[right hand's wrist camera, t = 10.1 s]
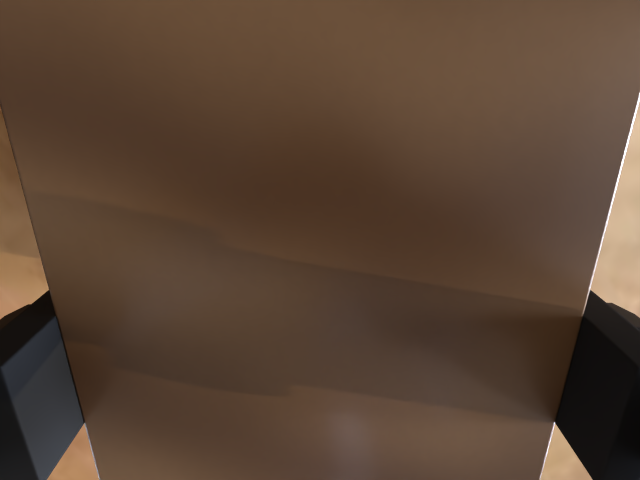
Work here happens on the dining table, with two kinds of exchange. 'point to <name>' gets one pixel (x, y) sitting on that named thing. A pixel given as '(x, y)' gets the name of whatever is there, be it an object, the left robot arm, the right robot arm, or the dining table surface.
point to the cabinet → (319, 224)
